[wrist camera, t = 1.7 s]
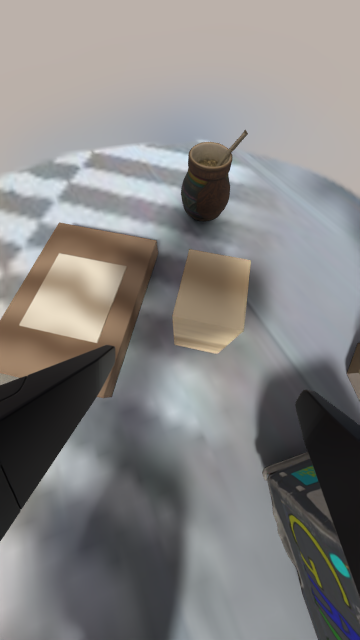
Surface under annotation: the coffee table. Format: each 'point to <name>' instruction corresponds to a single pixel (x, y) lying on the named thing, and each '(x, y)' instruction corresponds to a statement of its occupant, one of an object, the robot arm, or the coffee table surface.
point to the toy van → (314, 548)
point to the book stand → (355, 371)
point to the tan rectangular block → (211, 301)
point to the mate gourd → (208, 180)
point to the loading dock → (77, 301)
